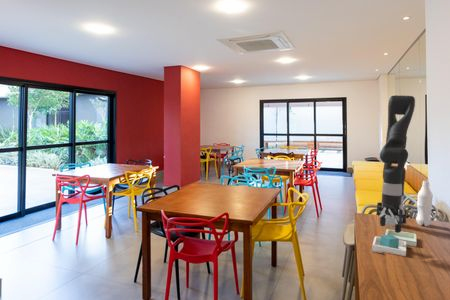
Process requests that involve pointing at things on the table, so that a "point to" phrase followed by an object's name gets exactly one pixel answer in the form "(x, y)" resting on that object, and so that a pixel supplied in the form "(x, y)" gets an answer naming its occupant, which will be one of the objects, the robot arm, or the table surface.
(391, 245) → the teal cube
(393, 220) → the robot arm
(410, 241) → the sage tray
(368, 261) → the table surface
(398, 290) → the table surface
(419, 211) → the water bottle
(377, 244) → the cream tray
